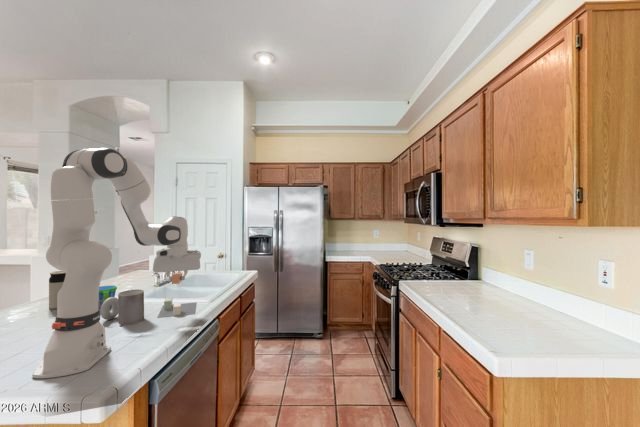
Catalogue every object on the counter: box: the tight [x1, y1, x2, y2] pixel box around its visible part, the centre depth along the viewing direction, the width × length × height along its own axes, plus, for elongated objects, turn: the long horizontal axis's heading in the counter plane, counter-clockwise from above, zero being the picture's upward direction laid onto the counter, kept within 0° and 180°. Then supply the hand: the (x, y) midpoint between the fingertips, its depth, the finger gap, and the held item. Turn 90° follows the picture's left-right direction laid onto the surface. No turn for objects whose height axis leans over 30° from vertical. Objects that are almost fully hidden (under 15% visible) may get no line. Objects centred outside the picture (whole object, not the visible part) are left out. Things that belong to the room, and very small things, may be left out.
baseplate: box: [156, 301, 197, 319], centre depth 150 cm, size 20×16×1 cm
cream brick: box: [173, 302, 182, 317], centre depth 145 cm, size 6×3×4 cm, turn 20°
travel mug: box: [48, 270, 66, 310], centre depth 157 cm, size 8×8×18 cm
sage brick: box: [163, 297, 173, 310], centre depth 153 cm, size 6×3×4 cm, turn 20°
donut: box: [99, 296, 118, 321], centre depth 140 cm, size 10×4×10 cm, turn 175°
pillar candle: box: [117, 288, 145, 328], centre depth 135 cm, size 10×10×15 cm
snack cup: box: [98, 285, 118, 310], centre depth 157 cm, size 16×10×10 cm
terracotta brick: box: [171, 272, 183, 285], centre depth 144 cm, size 6×3×4 cm, turn 11°
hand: (177, 280), depth 144 cm, fingers closed on terracotta brick, 4 cm apart
